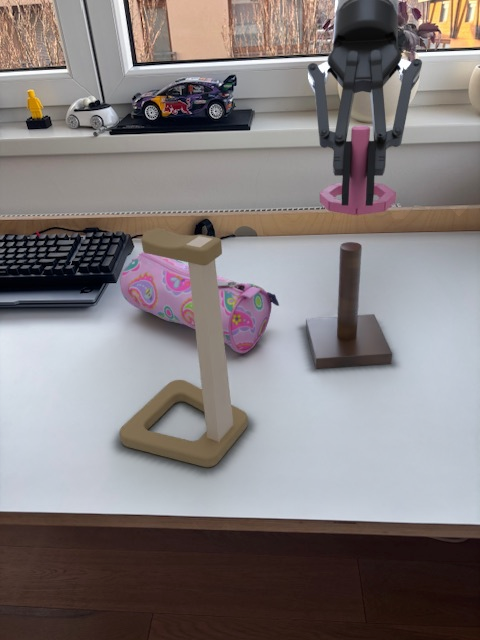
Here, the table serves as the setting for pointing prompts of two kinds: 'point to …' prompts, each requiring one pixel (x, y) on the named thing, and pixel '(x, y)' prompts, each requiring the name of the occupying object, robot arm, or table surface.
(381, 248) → the table surface
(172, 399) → the headphone stand
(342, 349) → the stand
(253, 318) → the pencil case
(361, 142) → the pink ring with handle
